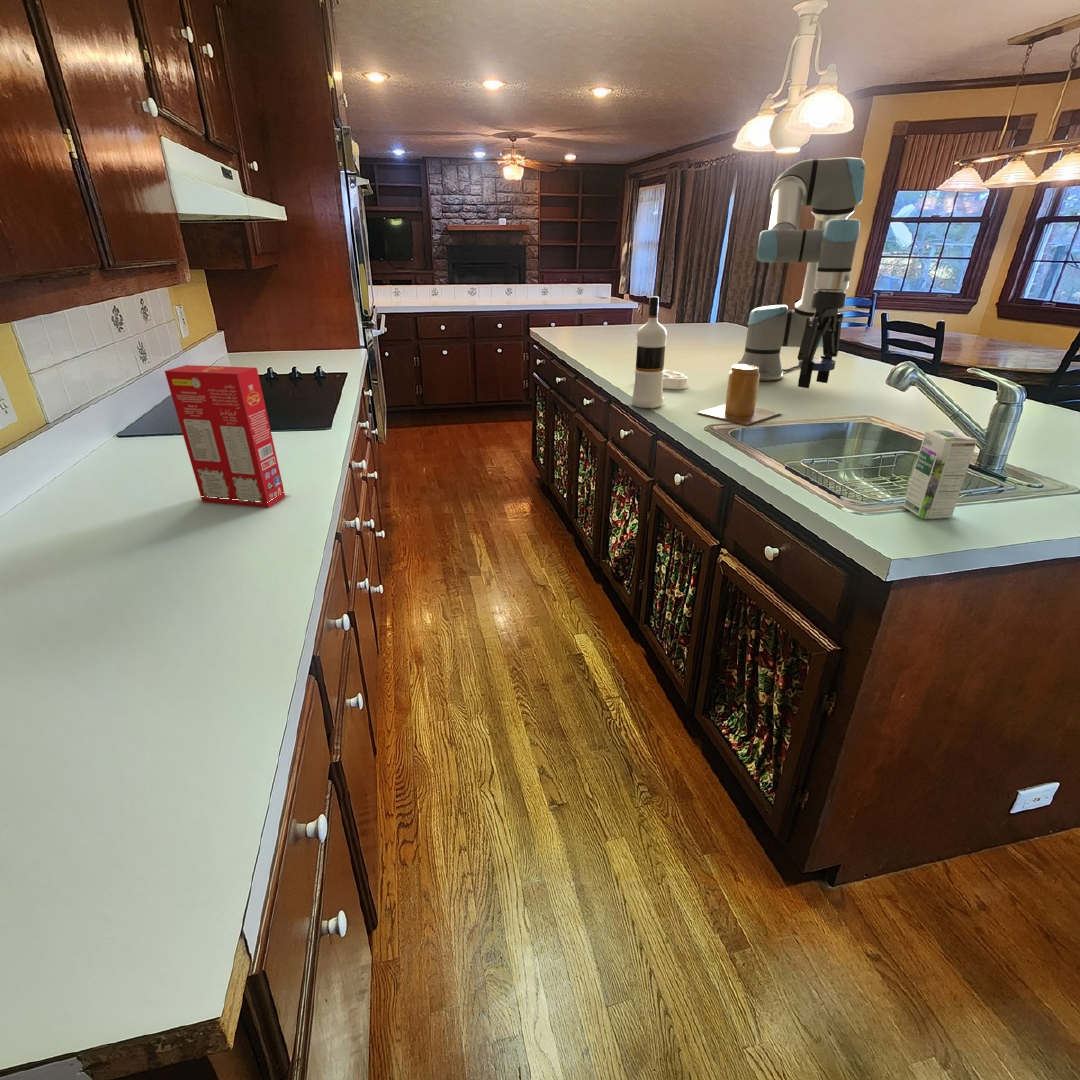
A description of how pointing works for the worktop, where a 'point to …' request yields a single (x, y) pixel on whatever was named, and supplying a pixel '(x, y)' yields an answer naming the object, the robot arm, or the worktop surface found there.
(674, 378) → the white brass knuckles
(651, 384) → the vodka
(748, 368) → the jar
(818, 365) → the lid
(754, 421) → the trivet
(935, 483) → the syrup box
